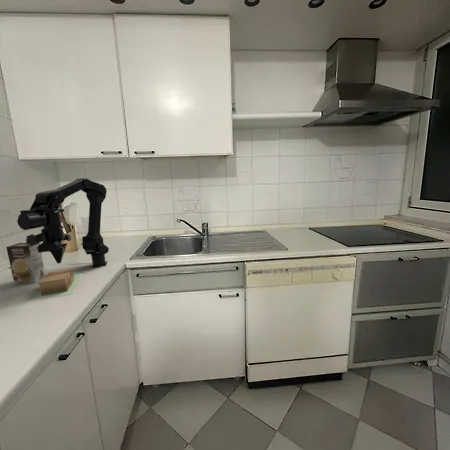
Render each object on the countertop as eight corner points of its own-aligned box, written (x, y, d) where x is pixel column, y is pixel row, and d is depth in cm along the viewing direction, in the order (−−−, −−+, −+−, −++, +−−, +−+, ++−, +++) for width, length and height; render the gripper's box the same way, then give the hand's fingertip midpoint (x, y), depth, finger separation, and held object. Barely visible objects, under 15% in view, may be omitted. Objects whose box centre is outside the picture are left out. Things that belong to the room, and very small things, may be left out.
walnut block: (49, 271, 94) (38, 282, 84) (72, 268, 97) (65, 278, 86) (51, 283, 95) (41, 295, 85) (74, 280, 97) (67, 291, 87)
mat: (52, 278, 101) (52, 277, 101) (84, 273, 105) (83, 272, 105) (30, 302, 81) (30, 301, 81) (71, 295, 85) (71, 294, 85)
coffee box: (13, 285, 96) (4, 247, 93) (25, 278, 102) (18, 242, 100) (36, 283, 96) (28, 245, 93) (47, 277, 103) (40, 241, 100)
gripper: (37, 223, 97) (43, 259, 100) (15, 231, 80) (24, 274, 83) (68, 220, 101) (74, 255, 104) (53, 228, 84) (61, 269, 87)
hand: (59, 263), depth 94 cm, fingers closed
